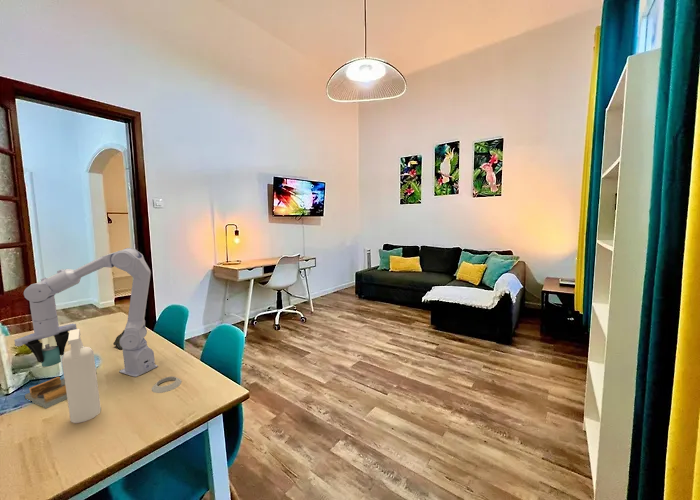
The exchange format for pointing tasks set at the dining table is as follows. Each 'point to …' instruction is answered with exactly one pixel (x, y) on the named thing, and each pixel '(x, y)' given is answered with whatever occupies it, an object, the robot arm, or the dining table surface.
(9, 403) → the dining table surface
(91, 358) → the white bottle
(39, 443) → the dining table surface
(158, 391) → the ring
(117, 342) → the stone
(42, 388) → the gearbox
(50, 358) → the spout can
